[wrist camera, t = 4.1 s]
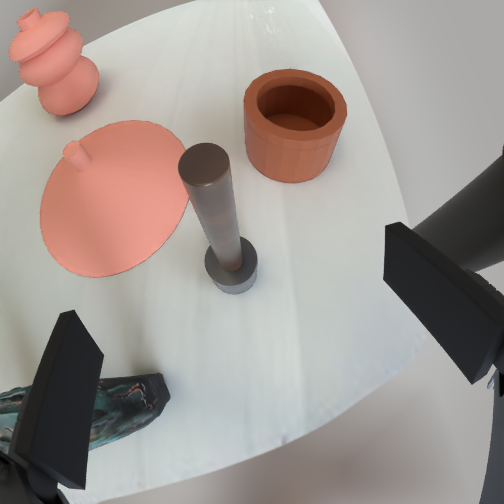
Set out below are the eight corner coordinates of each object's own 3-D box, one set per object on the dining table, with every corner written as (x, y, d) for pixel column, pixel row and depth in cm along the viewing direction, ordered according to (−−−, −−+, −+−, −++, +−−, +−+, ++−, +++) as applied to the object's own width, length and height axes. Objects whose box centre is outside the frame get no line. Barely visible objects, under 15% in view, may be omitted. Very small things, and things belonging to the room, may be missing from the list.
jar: (340, 133, 35) (357, 90, 27) (313, 197, 33) (329, 157, 25) (267, 105, 36) (269, 59, 29) (230, 162, 34) (225, 118, 26)
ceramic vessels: (224, 215, 32) (194, 80, 14) (64, 309, 29) (-68, 273, 11) (129, 55, 40) (97, -32, 22) (25, 119, 38) (-31, 51, 19)
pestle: (264, 261, 31) (279, 140, 12) (244, 301, 30) (227, 236, 10) (224, 243, 31) (184, 108, 12) (204, 282, 30) (127, 190, 11)
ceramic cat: (45, 440, 25) (-75, 478, 6) (26, 391, 26) (-102, 401, 7) (185, 410, 27) (86, 505, 7) (160, 351, 28) (24, 362, 9)
